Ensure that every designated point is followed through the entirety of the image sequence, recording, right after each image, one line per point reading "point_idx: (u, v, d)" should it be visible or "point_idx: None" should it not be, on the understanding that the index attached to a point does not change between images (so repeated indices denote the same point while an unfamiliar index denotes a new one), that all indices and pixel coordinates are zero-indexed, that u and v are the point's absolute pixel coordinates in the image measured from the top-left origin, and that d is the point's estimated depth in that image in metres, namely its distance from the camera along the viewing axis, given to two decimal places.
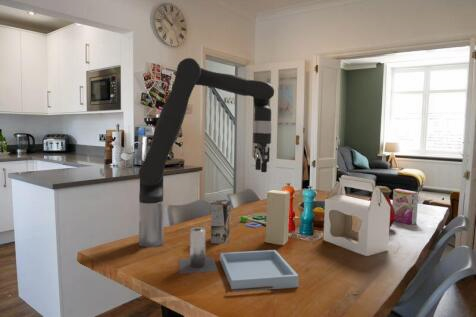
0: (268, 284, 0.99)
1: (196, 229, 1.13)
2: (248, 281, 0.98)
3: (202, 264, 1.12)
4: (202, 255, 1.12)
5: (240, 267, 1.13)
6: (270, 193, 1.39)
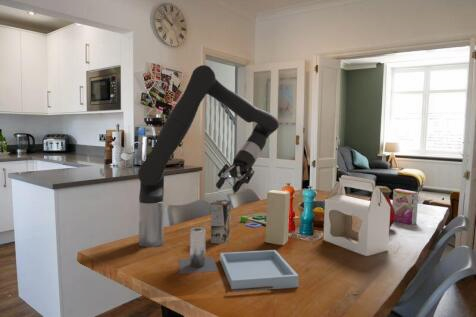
0: (268, 284, 0.99)
1: (196, 229, 1.13)
2: (248, 281, 0.98)
3: (202, 264, 1.12)
4: (202, 255, 1.12)
5: (240, 267, 1.13)
6: (270, 193, 1.39)
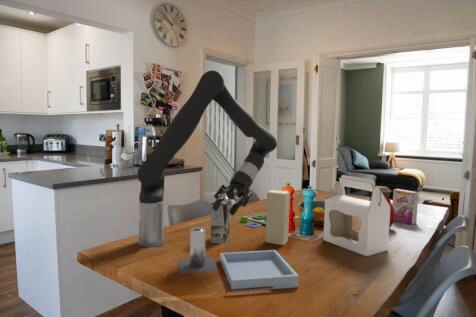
0: (268, 284, 0.99)
1: (196, 229, 1.13)
2: (248, 281, 0.98)
3: (202, 264, 1.12)
4: (202, 255, 1.12)
5: (240, 267, 1.13)
6: (270, 193, 1.39)
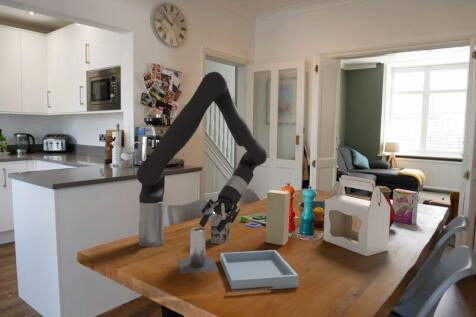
0: (268, 284, 0.99)
1: (196, 229, 1.13)
2: (248, 281, 0.98)
3: (202, 264, 1.12)
4: (202, 255, 1.12)
5: (240, 267, 1.13)
6: (270, 193, 1.39)
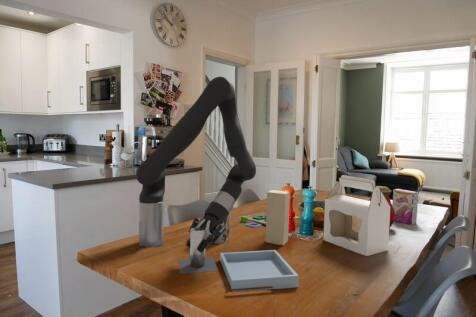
0: (268, 284, 0.99)
1: (196, 229, 1.13)
2: (248, 281, 0.98)
3: (202, 264, 1.12)
4: (202, 255, 1.12)
5: (240, 267, 1.13)
6: (270, 193, 1.39)
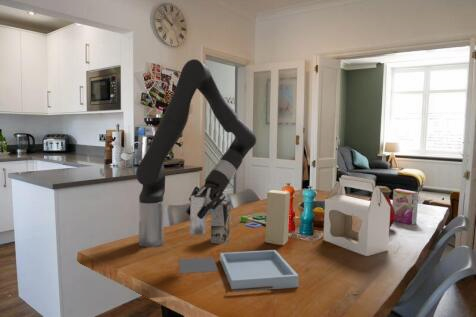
0: (268, 284, 0.99)
1: (196, 196, 1.12)
2: (248, 281, 0.98)
3: (202, 231, 1.12)
4: (202, 222, 1.11)
5: (240, 267, 1.13)
6: (270, 193, 1.39)
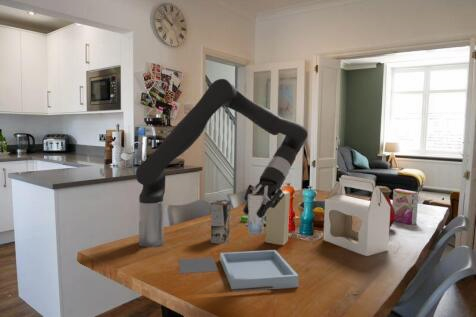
0: (268, 284, 0.99)
1: (254, 194, 1.08)
2: (248, 281, 0.98)
3: (261, 230, 1.08)
4: (261, 221, 1.07)
5: (240, 267, 1.13)
6: None
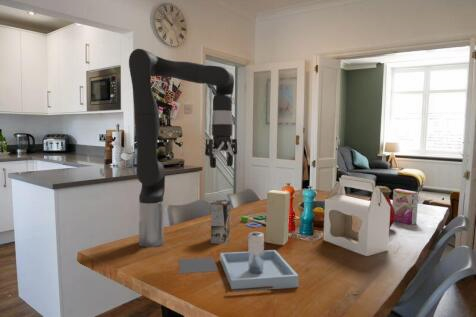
0: (268, 284, 0.99)
1: (254, 234, 1.09)
2: (248, 281, 0.98)
3: (262, 270, 1.09)
4: (262, 260, 1.08)
5: (240, 267, 1.13)
6: (270, 193, 1.39)
